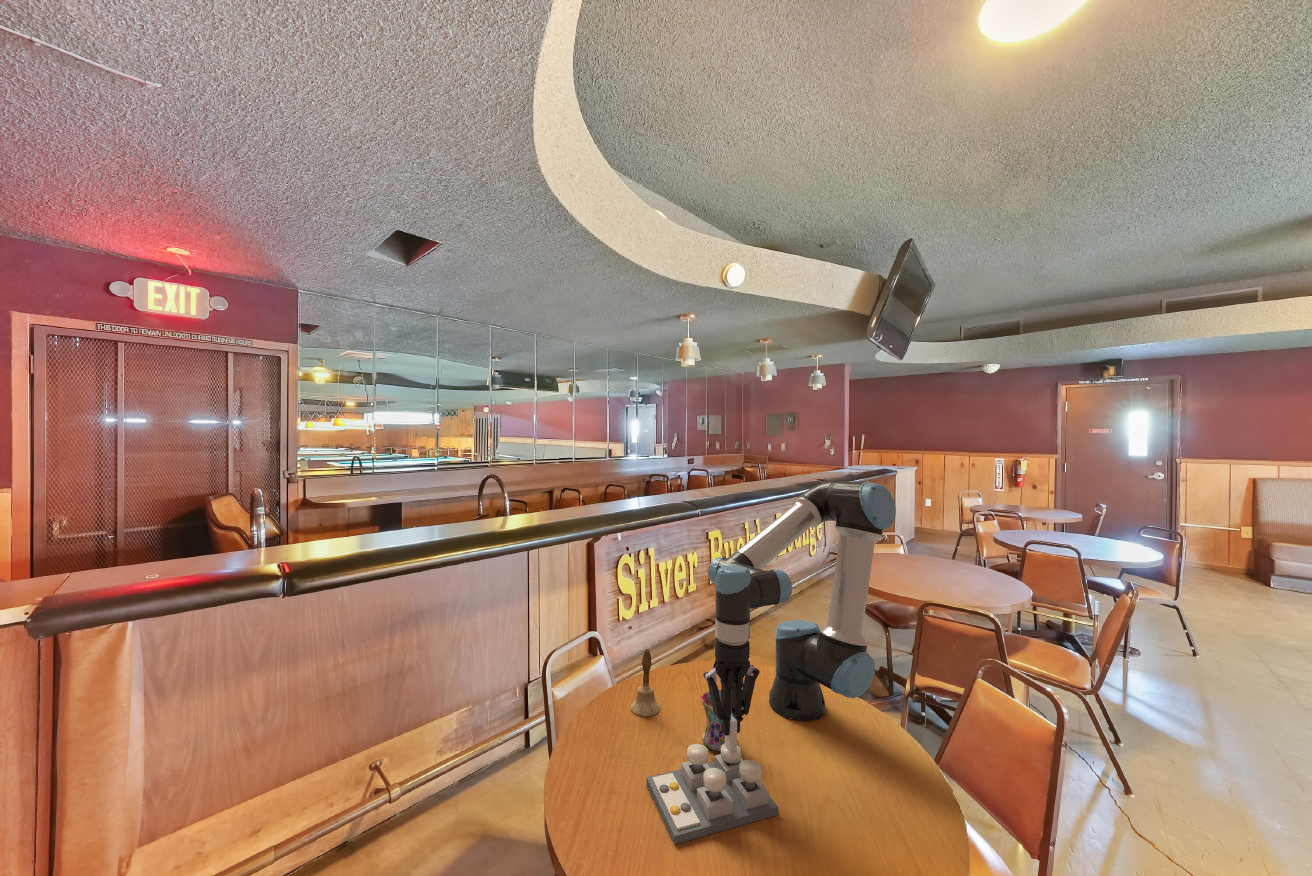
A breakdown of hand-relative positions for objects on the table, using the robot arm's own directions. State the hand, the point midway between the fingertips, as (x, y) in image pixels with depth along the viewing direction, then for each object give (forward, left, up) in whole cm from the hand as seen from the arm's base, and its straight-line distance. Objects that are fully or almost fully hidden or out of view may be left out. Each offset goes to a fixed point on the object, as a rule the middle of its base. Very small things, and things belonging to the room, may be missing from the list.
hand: (730, 748), depth 101 cm
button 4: (+8, +8, -3) cm, 12 cm away
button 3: (+8, 0, -3) cm, 8 cm away
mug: (-4, -13, -7) cm, 15 cm away
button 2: (0, +8, -3) cm, 9 cm away
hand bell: (+9, -32, -7) cm, 34 cm away
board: (+7, +4, -7) cm, 10 cm away
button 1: (0, 0, -4) cm, 4 cm away
